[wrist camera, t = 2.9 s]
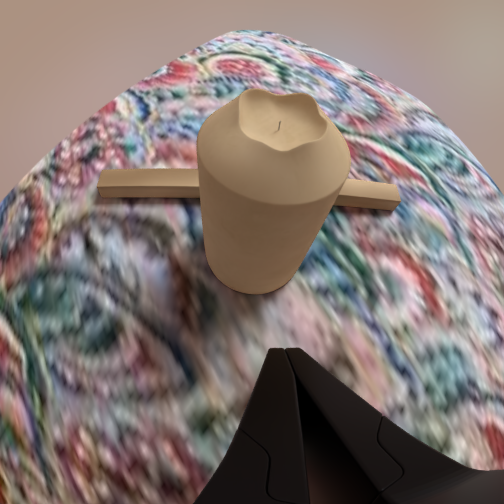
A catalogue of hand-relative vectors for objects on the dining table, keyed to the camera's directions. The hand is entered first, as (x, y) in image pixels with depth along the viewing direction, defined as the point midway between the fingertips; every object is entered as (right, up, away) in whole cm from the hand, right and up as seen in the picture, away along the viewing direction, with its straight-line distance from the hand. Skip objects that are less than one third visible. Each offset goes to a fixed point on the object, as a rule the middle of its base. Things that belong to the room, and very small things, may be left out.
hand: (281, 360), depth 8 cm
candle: (-1, +3, +10) cm, 11 cm away
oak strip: (-1, +7, +12) cm, 14 cm away
